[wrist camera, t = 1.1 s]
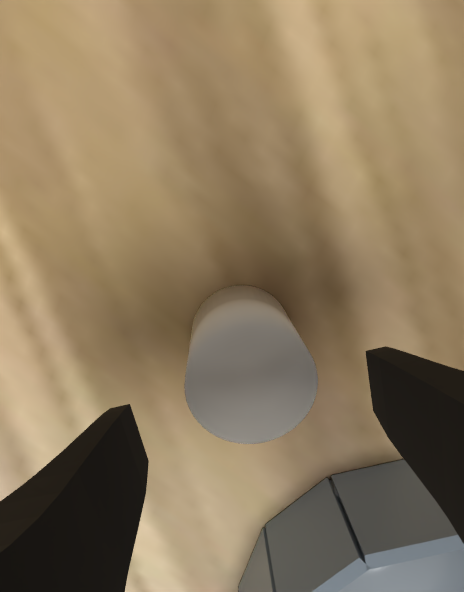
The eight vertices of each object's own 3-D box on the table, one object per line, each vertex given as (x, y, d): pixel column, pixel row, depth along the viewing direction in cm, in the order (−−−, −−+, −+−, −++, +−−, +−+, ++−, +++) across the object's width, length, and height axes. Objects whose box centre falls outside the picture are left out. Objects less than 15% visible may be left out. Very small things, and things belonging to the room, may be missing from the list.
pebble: (279, 275, 17) (306, 309, 12) (296, 364, 18) (326, 428, 13) (181, 297, 17) (169, 340, 12) (204, 385, 18) (202, 455, 13)
